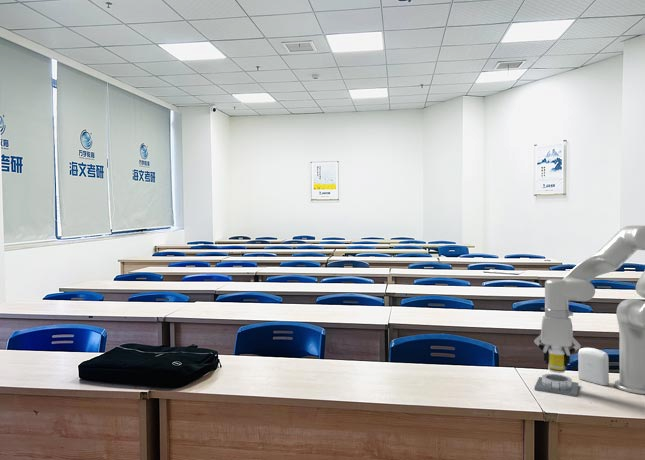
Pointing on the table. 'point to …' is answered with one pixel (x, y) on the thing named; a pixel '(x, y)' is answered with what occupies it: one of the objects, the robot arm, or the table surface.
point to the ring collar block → (557, 384)
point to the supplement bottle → (556, 359)
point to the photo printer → (593, 366)
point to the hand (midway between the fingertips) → (556, 364)
